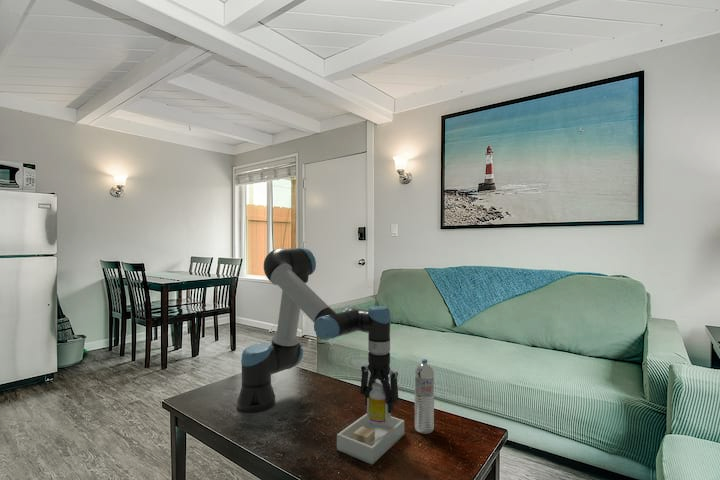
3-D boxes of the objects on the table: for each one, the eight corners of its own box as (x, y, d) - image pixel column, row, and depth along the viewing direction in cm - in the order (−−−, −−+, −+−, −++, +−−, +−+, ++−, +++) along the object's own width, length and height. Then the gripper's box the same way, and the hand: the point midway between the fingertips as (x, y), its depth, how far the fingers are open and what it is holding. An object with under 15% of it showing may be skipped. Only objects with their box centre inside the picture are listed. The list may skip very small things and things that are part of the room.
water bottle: (435, 426, 134) (435, 358, 134) (432, 436, 128) (432, 364, 128) (416, 423, 137) (416, 355, 136) (412, 432, 130) (413, 361, 130)
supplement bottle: (387, 426, 124) (387, 388, 124) (367, 424, 125) (367, 387, 125) (389, 417, 130) (389, 381, 130) (371, 415, 132) (371, 379, 131)
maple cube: (353, 448, 119) (353, 432, 119) (362, 441, 123) (362, 426, 123) (366, 453, 116) (366, 437, 116) (374, 446, 120) (374, 430, 120)
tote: (336, 449, 119) (336, 434, 119) (371, 423, 136) (371, 409, 136) (372, 464, 112) (372, 448, 112) (404, 434, 129) (404, 420, 129)
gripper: (349, 349, 130) (349, 414, 130) (399, 360, 119) (398, 431, 119) (361, 344, 136) (361, 406, 136) (409, 354, 125) (409, 421, 125)
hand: (378, 418), depth 128 cm, fingers closed on supplement bottle, 7 cm apart
